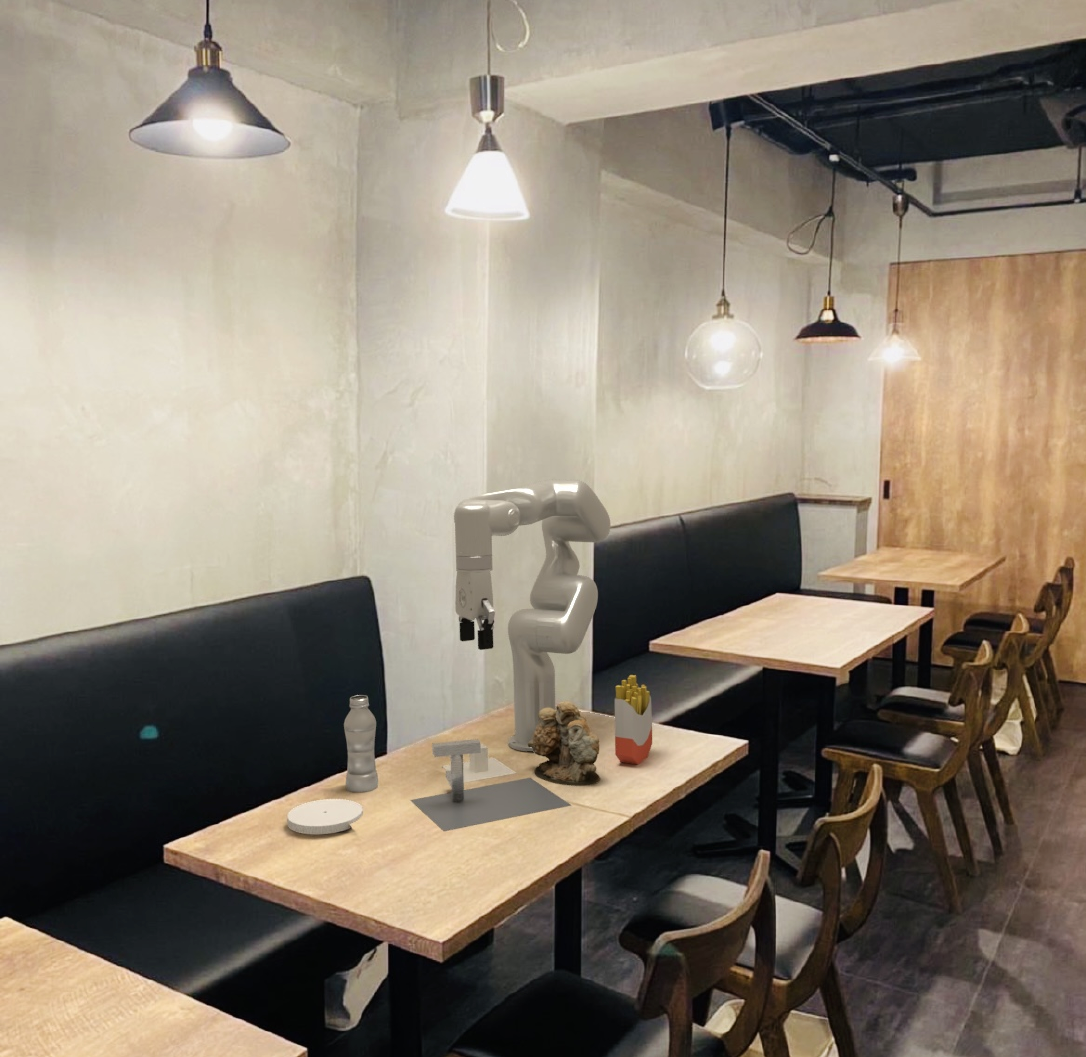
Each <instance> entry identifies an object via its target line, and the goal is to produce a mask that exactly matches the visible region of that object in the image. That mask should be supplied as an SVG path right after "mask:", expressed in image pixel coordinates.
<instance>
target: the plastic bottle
mask: <svg viewBox="0 0 1086 1057" xmlns="http://www.w3.org/2000/svg"><path fill="white" fill-rule="evenodd" d="M368 696H369V695H366V694H365V695H364V694H359V695H358V694H357V695H354V696H353V695H352V696H351V697H350V698H349V709H350V711H349V712H348V714H347V715H346V717H345V719H344V723H343V727H344V728H343V729H344V734H345V739H346V749H347V770H346V776H345V788H346V790H347V791H348V792H350V793H355V794H356V793H367V792H371V791H374V790H376V789H377V788H378V786H379V785H378V784H379V778H378V776H379V775H378V771H377V766H376V757H375V741H376V740H375V739H376V738H375V737H376V731H377V730H376V729H377V728H376V727H377V721H376V718H375V715H374V714H373V713H372V711H371V710H370V709H369V706H370V704H369V697H368Z"/></svg>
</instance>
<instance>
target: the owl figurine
mask: <svg viewBox="0 0 1086 1057" xmlns="http://www.w3.org/2000/svg"><path fill="white" fill-rule="evenodd" d="M538 717H539V718H538V720H539V724H538V726H537V727H536V731H535V732H534V735H533V739H534V740H533V741H530V742H528V746H529V747H532V748H533V751H534V752H533V753H534V754H535V755H537V756H539V757H540V756H541V757H545V758H546V759H547V760H546V761H543V762H540V763H539V764H538V766H537V767H536V768H535V769H534V772H533V774H534V776H535V777H537V778H538V779H541V780H543V781H546V782H548V783H552V784H556V785H561V786H562V785H563V786H569V787H571V786H572V787H582V786H583V787H585V786H592V785H596V784H598V783H599V782H600V781H601V777H600V775H599V774H598V773H597V766H596V765H595V764H596V762H597V759H598V755H599V754H600V738H599V737H598V735H597V734H596V733H594V732H593V730H592V728H591V727H590V725H589V724H588V723H587V718H586V716H585V715H584V714H582V713H581V711H580V710H579V708H578V706H577V705H575V704H574V702H572V701H569V700H564V701H561V702H559V703H558V704H557V705H556V706H555V710H554V709H553V708H544V709H542V710H540V711H539V714H538ZM594 763H595V764H594Z"/></svg>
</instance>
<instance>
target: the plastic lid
mask: <svg viewBox="0 0 1086 1057" xmlns="http://www.w3.org/2000/svg"><path fill="white" fill-rule="evenodd" d="M363 815H364V807H363V806H362V804H360V803H359V802H356V801H354V800H351V799H349V800H348V799H344V798H343V799H342V798H326V799H318V800H313V801H308V802H305V803H302V804H299V805H296V806H295V807H293V808H291V809H290V810H289V811H288V812H287V814H286V824H287V827H288V829H290V830H291V831H293V832H296V833H299V834H300V833H301V834H304V835H326V834H328V835H329V834H334V833H335V834H336V833H339V832H343V831H346V830H349V829H352V824H354V823H356V822H357V821H358V820H360V819H361V818H362V817H363Z"/></svg>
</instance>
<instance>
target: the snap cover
mask: <svg viewBox="0 0 1086 1057" xmlns="http://www.w3.org/2000/svg"><path fill="white" fill-rule="evenodd" d="M488 748H489V747H488V746H486V745H485V744H483V743H481V753H473V754H468V761H465V762H464V761H463V773H464V784H466V783H470V782H476V781H481V780H487V779H491V778H498V777H504V776H509V775H513V774H517V772H516V771H514V770H513V769H511V768H510V767H508V766H507V765H506V764H504V763H502V762H501V761H500V760H498V759H496V758H495V757H494V756H493V757H489V749H488ZM441 769H445V771H450V770H451V764H447V765H442V766H441Z"/></svg>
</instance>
